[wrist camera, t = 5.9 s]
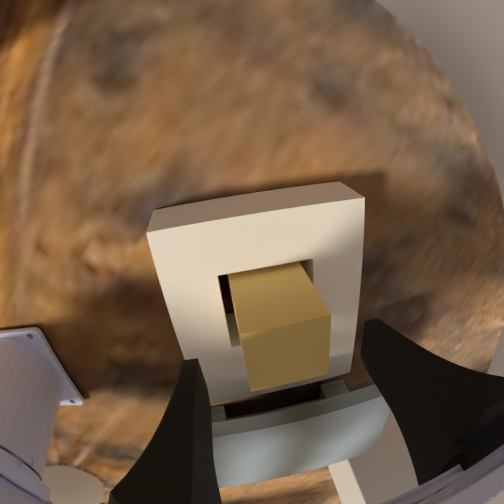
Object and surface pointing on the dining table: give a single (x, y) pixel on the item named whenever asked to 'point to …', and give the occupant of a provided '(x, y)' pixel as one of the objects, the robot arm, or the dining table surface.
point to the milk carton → (376, 470)
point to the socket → (253, 257)
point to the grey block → (297, 435)
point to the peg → (280, 325)
